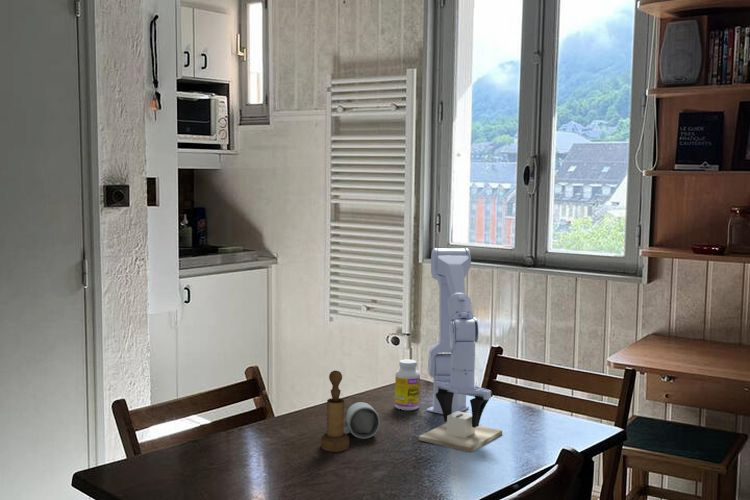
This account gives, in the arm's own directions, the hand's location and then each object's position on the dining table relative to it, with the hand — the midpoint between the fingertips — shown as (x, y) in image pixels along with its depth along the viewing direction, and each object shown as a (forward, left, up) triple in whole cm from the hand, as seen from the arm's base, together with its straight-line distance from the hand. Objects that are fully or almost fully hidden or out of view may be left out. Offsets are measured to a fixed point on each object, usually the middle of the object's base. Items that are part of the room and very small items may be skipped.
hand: (461, 423), depth 199 cm
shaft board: (0, 0, -3) cm, 3 cm away
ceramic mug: (+14, -22, -4) cm, 26 cm away
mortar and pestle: (+24, -20, -4) cm, 31 cm away
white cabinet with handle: (0, 0, -2) cm, 2 cm away
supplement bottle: (-13, -24, -4) cm, 28 cm away
